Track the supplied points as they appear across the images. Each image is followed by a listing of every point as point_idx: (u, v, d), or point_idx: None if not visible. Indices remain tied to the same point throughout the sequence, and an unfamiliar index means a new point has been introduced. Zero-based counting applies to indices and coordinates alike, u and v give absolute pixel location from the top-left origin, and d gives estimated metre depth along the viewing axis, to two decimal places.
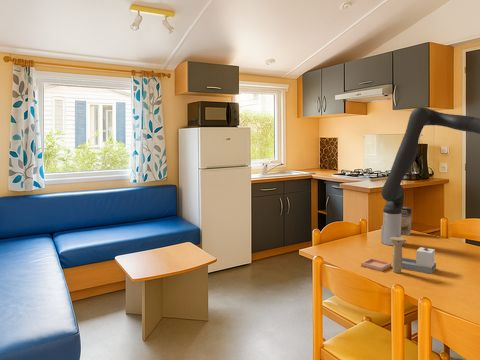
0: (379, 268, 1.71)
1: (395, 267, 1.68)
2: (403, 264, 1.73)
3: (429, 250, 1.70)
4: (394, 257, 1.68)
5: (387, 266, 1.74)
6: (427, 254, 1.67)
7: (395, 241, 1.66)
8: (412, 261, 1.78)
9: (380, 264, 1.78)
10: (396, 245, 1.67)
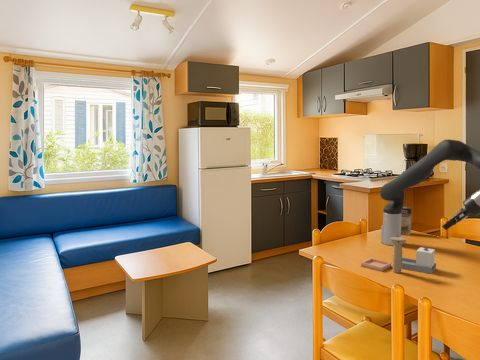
0: (379, 268, 1.71)
1: (395, 267, 1.68)
2: (403, 264, 1.73)
3: (429, 250, 1.70)
4: (394, 257, 1.68)
5: (387, 266, 1.74)
6: (427, 254, 1.67)
7: (395, 241, 1.66)
8: (412, 261, 1.78)
9: (380, 264, 1.78)
10: (396, 245, 1.67)
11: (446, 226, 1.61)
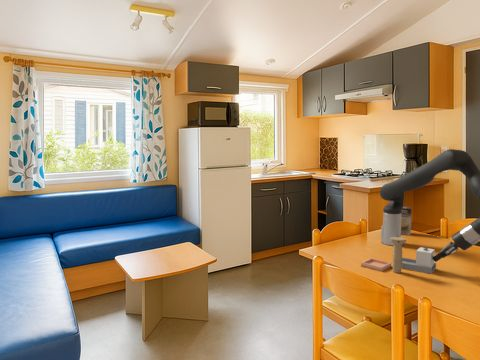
0: (379, 268, 1.71)
1: (395, 267, 1.68)
2: (403, 264, 1.73)
3: (429, 250, 1.70)
4: (394, 257, 1.68)
5: (387, 266, 1.74)
6: (427, 254, 1.67)
7: (395, 241, 1.66)
8: (412, 261, 1.78)
9: (380, 264, 1.78)
10: (396, 245, 1.67)
11: (436, 258, 1.68)
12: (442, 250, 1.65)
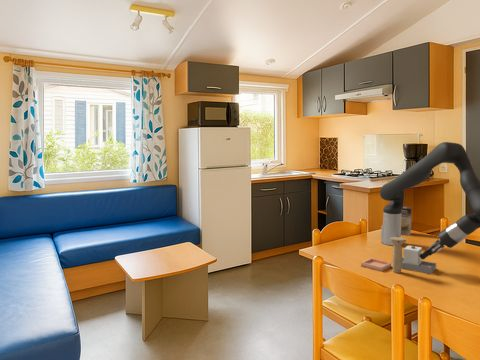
0: (379, 268, 1.71)
1: (395, 267, 1.68)
2: (403, 264, 1.73)
3: (416, 248, 1.73)
4: (394, 257, 1.68)
5: (387, 266, 1.74)
6: (414, 251, 1.71)
7: (395, 241, 1.66)
8: None
9: (380, 264, 1.78)
10: (396, 245, 1.67)
11: (423, 256, 1.71)
12: (429, 248, 1.68)
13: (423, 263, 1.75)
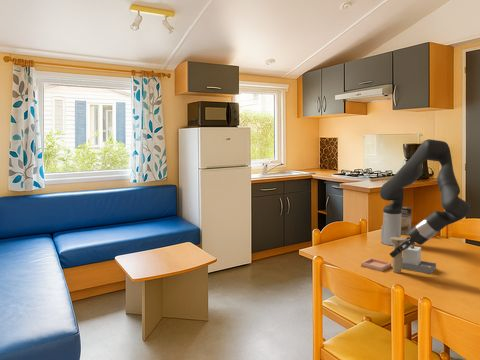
0: (379, 268, 1.71)
1: (395, 267, 1.68)
2: (403, 264, 1.73)
3: (415, 248, 1.74)
4: (394, 257, 1.68)
5: (387, 266, 1.74)
6: (413, 251, 1.71)
7: (395, 241, 1.66)
8: None
9: (380, 264, 1.78)
10: (396, 245, 1.67)
11: None
12: (399, 245, 1.65)
13: (423, 263, 1.75)
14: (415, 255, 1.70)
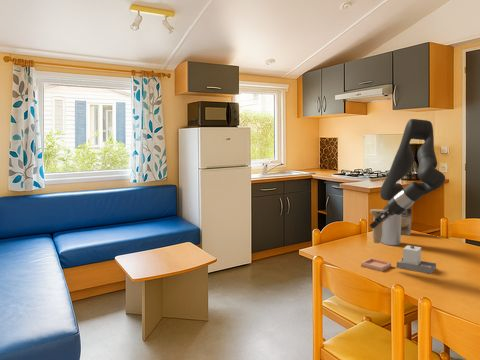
0: (379, 268, 1.71)
1: (375, 238, 1.74)
2: (403, 264, 1.73)
3: (415, 248, 1.74)
4: (374, 228, 1.74)
5: (387, 266, 1.74)
6: (413, 251, 1.71)
7: (375, 212, 1.72)
8: None
9: (380, 264, 1.78)
10: (376, 216, 1.73)
11: None
12: None
13: (423, 263, 1.75)
14: (415, 255, 1.70)
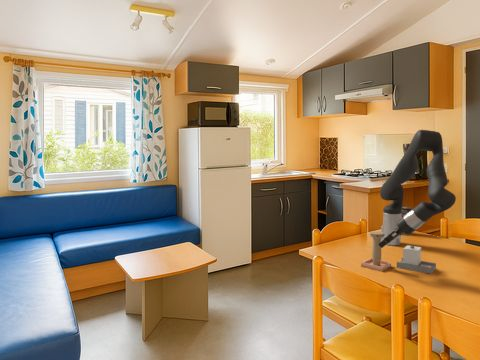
0: (379, 268, 1.71)
1: (374, 260, 1.75)
2: (403, 264, 1.73)
3: (415, 248, 1.74)
4: (373, 251, 1.75)
5: (387, 266, 1.74)
6: (413, 251, 1.71)
7: (374, 235, 1.74)
8: None
9: (380, 264, 1.78)
10: (375, 239, 1.74)
11: None
12: (388, 235, 1.68)
13: (423, 263, 1.75)
14: (415, 255, 1.70)
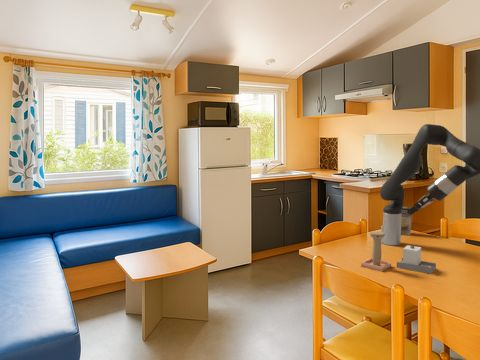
0: (379, 268, 1.71)
1: (374, 260, 1.75)
2: (403, 264, 1.73)
3: (415, 248, 1.74)
4: (373, 251, 1.75)
5: (387, 266, 1.74)
6: (413, 251, 1.71)
7: (374, 235, 1.73)
8: None
9: (380, 264, 1.78)
10: (375, 239, 1.74)
11: (411, 211, 1.63)
12: (418, 201, 1.61)
13: (423, 263, 1.75)
14: (415, 255, 1.70)
